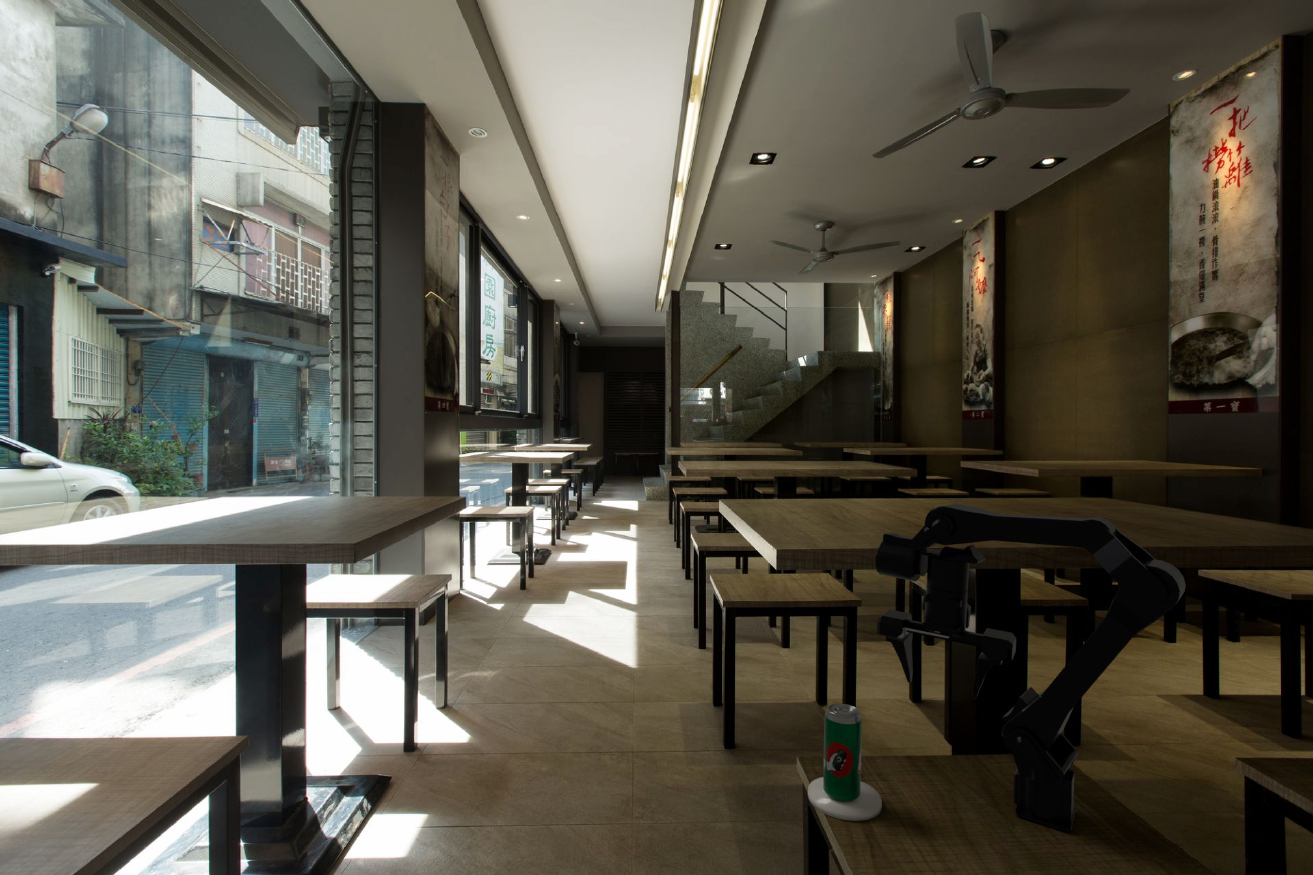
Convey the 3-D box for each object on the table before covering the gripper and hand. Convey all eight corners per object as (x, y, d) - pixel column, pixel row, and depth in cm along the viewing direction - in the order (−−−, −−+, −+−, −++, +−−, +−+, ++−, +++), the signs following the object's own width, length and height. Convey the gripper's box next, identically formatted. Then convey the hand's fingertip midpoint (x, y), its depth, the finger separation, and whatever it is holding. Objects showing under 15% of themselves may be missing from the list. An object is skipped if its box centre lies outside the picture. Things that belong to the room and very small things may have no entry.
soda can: (866, 802, 91) (868, 716, 91) (832, 805, 90) (834, 718, 90) (850, 783, 96) (851, 701, 96) (817, 786, 95) (818, 703, 95)
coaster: (891, 797, 94) (891, 791, 94) (867, 830, 86) (867, 824, 86) (824, 774, 100) (824, 768, 100) (796, 803, 92) (796, 797, 92)
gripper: (1022, 588, 101) (1016, 688, 102) (896, 568, 112) (892, 660, 112) (1014, 603, 92) (1008, 714, 93) (878, 580, 103) (873, 680, 103)
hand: (941, 689), depth 100 cm, fingers open, 9 cm apart
